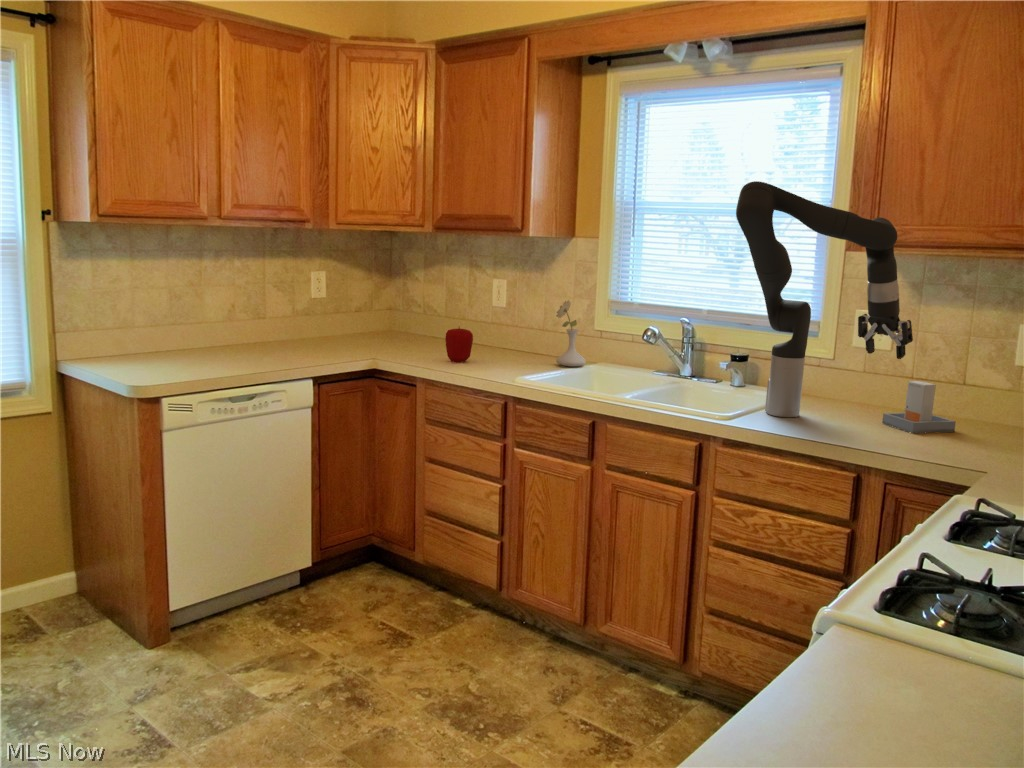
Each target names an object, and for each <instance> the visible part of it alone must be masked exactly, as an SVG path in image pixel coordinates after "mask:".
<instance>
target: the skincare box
mask: <svg viewBox="0 0 1024 768" xmlns="http://www.w3.org/2000/svg"><path fill="white" fill-rule="evenodd" d="M907 383H908V384H907V390H906V397H905V398H906V399H905V408H904V412H903V413H904V419H906V420H910V421H913V422H925V421H931V419H932V415H933V412H934V411H933V410H934V403H935V394H936V393H935V392H936V386H937V385H936V384H935V383H930V382H925V381H920V380H909V381H908V382H907Z"/></svg>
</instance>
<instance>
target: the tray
mask: <svg viewBox="0 0 1024 768" xmlns="http://www.w3.org/2000/svg"><path fill="white" fill-rule="evenodd" d="M904 413H905V412H888V413H887V412H885V413H882V423H884V424H886V425H885V426H887V425H889V426H888V427H891V426H893V427H892V428H894V427H896V428H895V429H897V428H899V429H898V430H900V429H902V430H901V431H903V430H905V431H904V432H906V431H908V432H907V433H909V432H911V433H910V434H912V433H915V434H928V433H927V432H941V433H955V429H956V420H953V419H949V418H946V417H942V416H939V415H937V414H935V415H934V414H932V419H931V421H925V422H913V421H910V420H906V419H904ZM882 423H881V424H882ZM884 424H883V425H884ZM925 432H926V433H925Z"/></svg>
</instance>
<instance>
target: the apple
mask: <svg viewBox="0 0 1024 768" xmlns="http://www.w3.org/2000/svg"><path fill="white" fill-rule="evenodd" d="M473 335H474V334H473V333H472V331H471V330H469V329H466V328H461V327H460V326H458V328H451V329H448V330H447V331H446V332H445V350H446V354H447V357H448V359H449V360H450V361H451V362H452V363H455V364H457V363H459V364H460V363H464V362H466V361H467V360H468V359H469V358H470V357H471V352H472V348H473V347H472V346H473V343H474V342H473V341H474V336H473Z"/></svg>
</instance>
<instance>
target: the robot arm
mask: <svg viewBox="0 0 1024 768" xmlns="http://www.w3.org/2000/svg"><path fill="white" fill-rule="evenodd" d="M774 211H778V212H781V213H785V214H788V215H789V216H791V217H793V218H794V219H797V221H800V222H801V223H802V224H803V225H804V226H806V227H807V228H808V229H810V230H812V231H813V232H815V233H818V234H820V235H823V236H827V237H831V238H835V239H839V240H843V241H848V242H852V243H853V244H856V245H858V246H862V247H864V248H865V254H866V261H867V264H866V265H867V266H866V267H867V268H866V269H867V270H866V271H867V272H866V274H867V286H866V296H867V313H868V314H867V313H863V314H861V315H859V316H858V318H857V324H858V325H857V336H858V337H859V338H863V339H864V341H865V350H866V352H867V354H870V355H871V354H873V353H874V352H875V338H874V337H875V335H884V336H889V338H890V339H891V340H893V341H894V343H895V345H896V346H895V349H896V351H895V352H896V355H895V356H896V359H898V360H901V359H903V358H904V357H905V356H906V346H907V345H908V344H910V343H912V342H913V341H914V338H913V325H912V321H911V320H910V319H907V320H901V319H900V317H899V315H900V311H901V309H900V286H899V281H898V265H897V264H898V263H897V260H896V257H895V250H894V249H895V247H894V246H895V244H896V243H897V242H898V241H897V240H898V231H897V229H896V227H895V226H894V224H893V223H892V222H891V221H890V220H889V219H887V218H884V217H875V218H872V219H868V218H866V217H862V216H859V215H858V214H857V213H854V212H851V211H848V210H844V209H840V208H836V207H832V206H827V205H823V204H821V203H818V202H815V201H813V200H809V199H808V198H807V199H806V198H804V197H802V196H799V195H797V194H795V193H792V192H790V191H787V190H785V189H782V188H780V187H777V186H775V185H772V184H769V183H767V182H764V181H756V180H755V181H750V182H748V183H745V184H744V185H743V186H742V188H741V189H740V193H739V196H738V200H737V204H736V209H735V215H736V216H735V217H736V220H737V223H738V224H739V227H740V229H741V231H742V233H743V235H744V238H745V239H746V242H747V244H748V247H749V252H750V255H751V258H752V262H753V267H754V270H755V272H756V276H757V278H758V281H759V285H760V286H761V290H762V294H763V297H764V302H765V306H766V307H765V308H766V313H767V318H768V322H769V325H770V327H771V328H772V330H774V331H777V332H780V333H787V334H788V333H789V334H792V336H791V339H789V340H787V341H785V342H780V343H776V344H773V346H772V348H771V356H770V367H769V368H770V370H769V379H768V380H767V386H766V394H765V395H766V396H765V397H766V398H765V407H764V411H765V412H766V414H767V415H770V416H774V417H781V418H797V417H799V416H800V411H801V410H800V409H801V402H802V401H801V400H802V391H803V383H804V381H803V379H804V370H805V360H806V358H805V357H806V351H807V345H808V338H809V331H810V325H811V318H812V309H811V305H810V304H809V303H808V302H807V301H800V300H791V299H790V300H788V299H784V298H783V297H782V295H781V294H782V292H783V290H784V289H785V287H786V286H787V285H788V283H789V281H790V280H791V277H792V274H793V273H792V272H793V268H792V263H791V259H790V256H789V252H788V250H787V249H786V247H785V246H784V244H782V243H781V242H780V241H779V240H778V239H777V237H776V233H775V230H774V221H773V219H774ZM868 323H869V325H870V326H871V327H870V328H869V325H868ZM868 328H869V329H868Z"/></svg>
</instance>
